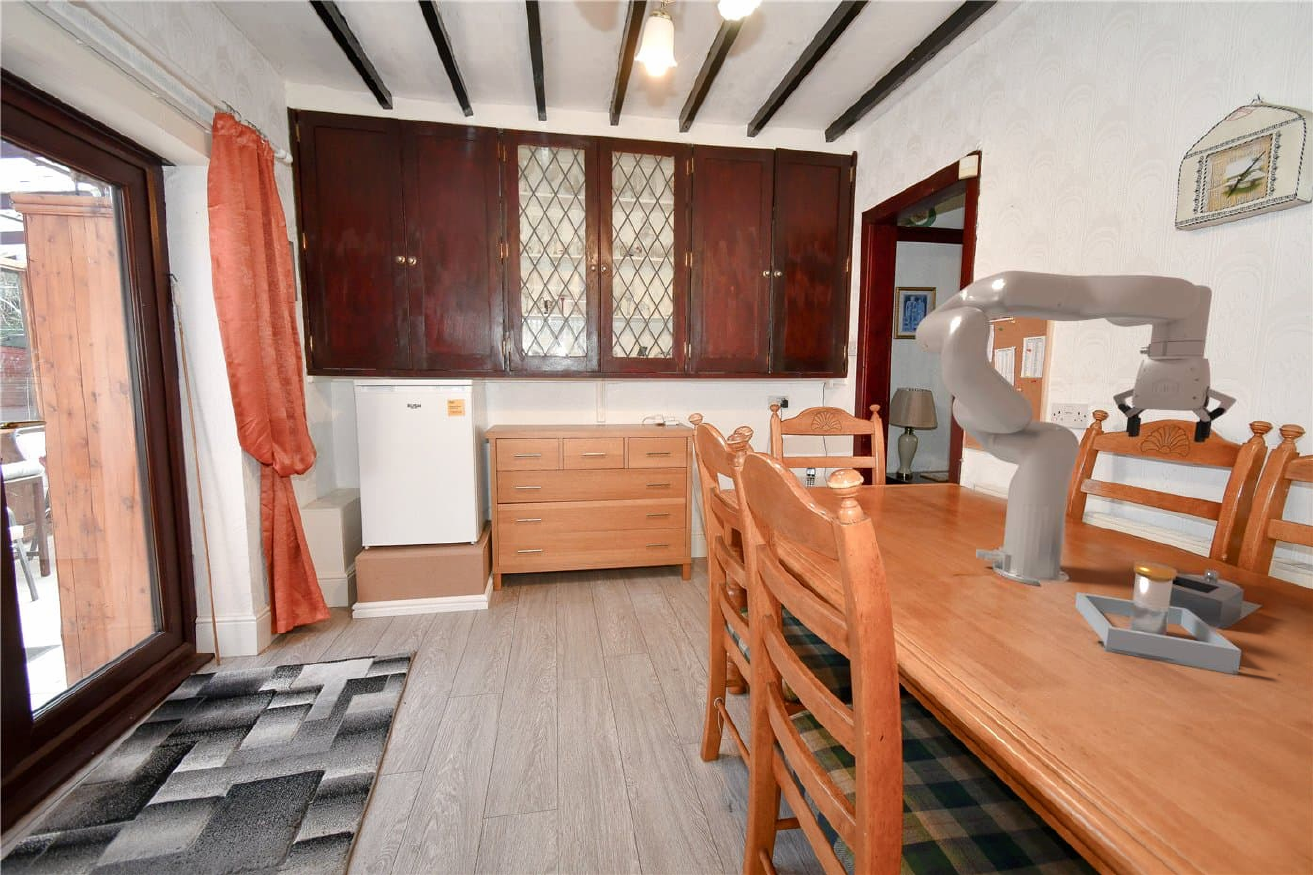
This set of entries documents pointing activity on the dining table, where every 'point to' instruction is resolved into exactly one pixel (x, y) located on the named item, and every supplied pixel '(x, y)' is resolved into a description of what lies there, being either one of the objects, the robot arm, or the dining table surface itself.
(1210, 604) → the dark grey slotted base
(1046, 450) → the robot arm
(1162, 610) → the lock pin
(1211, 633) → the gray square frame
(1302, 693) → the dining table surface
